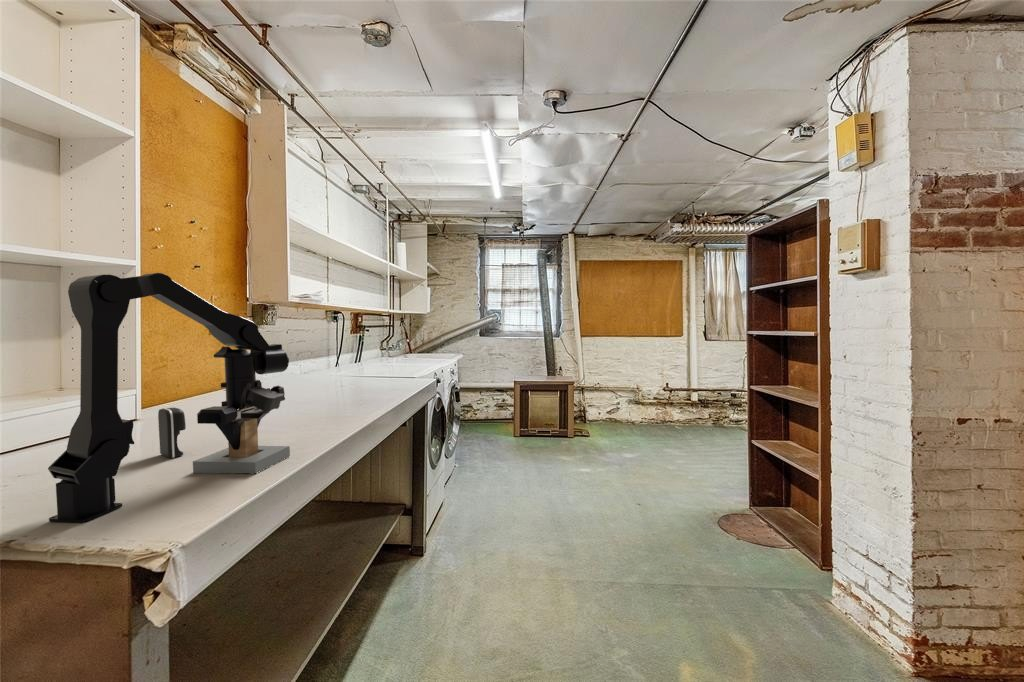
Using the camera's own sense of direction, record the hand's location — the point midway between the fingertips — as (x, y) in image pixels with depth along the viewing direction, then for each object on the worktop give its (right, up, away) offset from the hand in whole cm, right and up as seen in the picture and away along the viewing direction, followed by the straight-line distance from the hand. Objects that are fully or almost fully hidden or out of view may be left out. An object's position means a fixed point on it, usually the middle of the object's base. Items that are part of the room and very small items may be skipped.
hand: (243, 446), depth 98 cm
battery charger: (-22, -4, +8) cm, 24 cm away
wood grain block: (0, -2, 0) cm, 2 cm away
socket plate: (0, -4, 0) cm, 4 cm away
